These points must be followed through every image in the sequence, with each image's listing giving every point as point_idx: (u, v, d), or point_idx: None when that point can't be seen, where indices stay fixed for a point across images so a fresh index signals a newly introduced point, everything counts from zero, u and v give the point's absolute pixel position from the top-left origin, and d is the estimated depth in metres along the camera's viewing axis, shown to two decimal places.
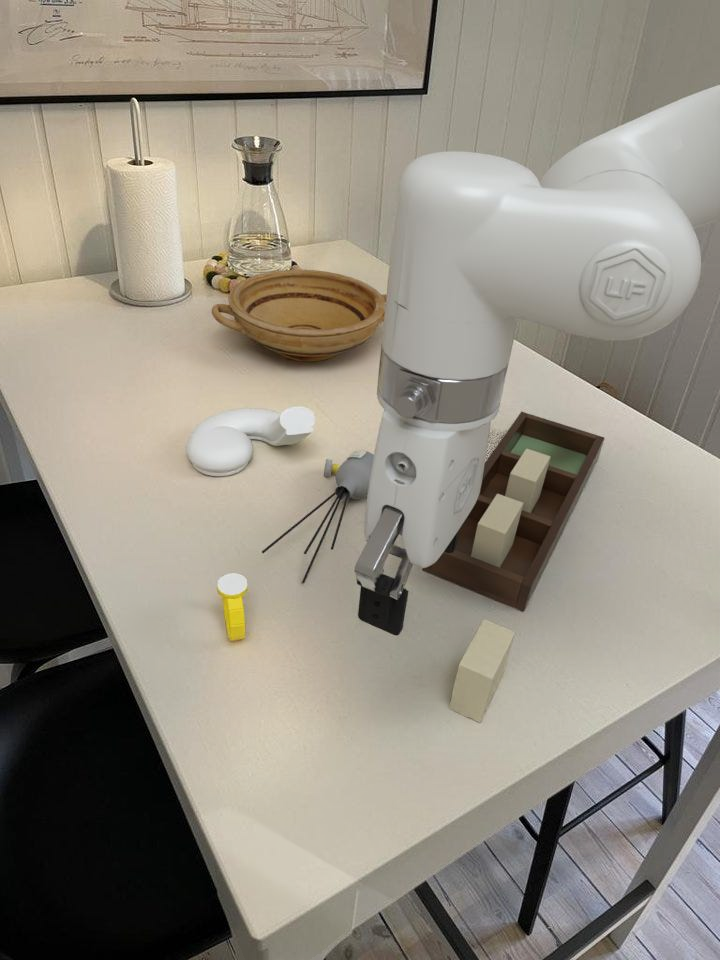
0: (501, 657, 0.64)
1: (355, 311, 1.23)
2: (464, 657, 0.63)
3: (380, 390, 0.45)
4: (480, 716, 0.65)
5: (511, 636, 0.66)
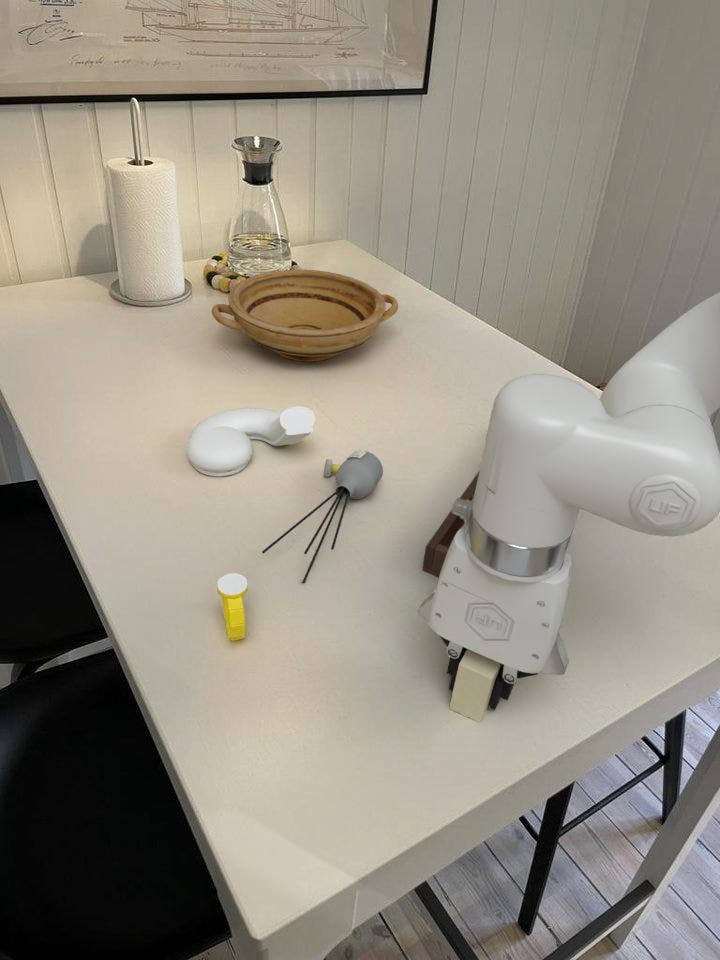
0: None
1: (355, 311, 1.23)
2: (464, 657, 0.63)
3: None
4: (480, 716, 0.65)
5: None
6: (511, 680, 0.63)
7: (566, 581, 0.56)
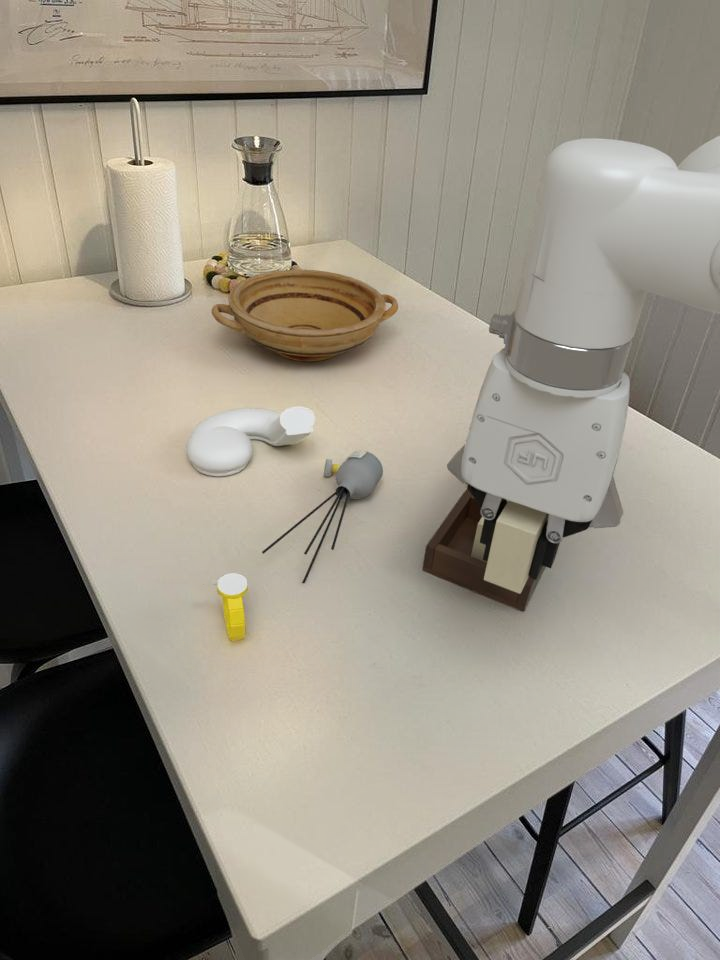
0: (544, 514, 0.55)
1: (355, 311, 1.23)
2: (502, 514, 0.55)
3: None
4: (520, 584, 0.57)
5: None
6: (556, 539, 0.55)
7: (626, 399, 0.47)
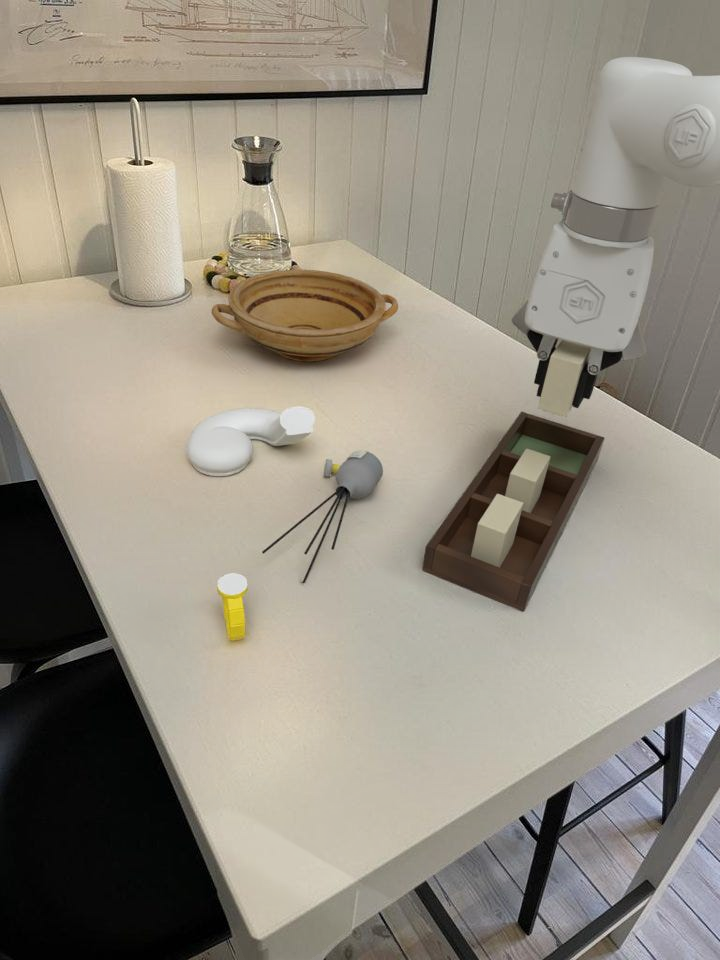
0: (586, 353, 0.74)
1: (355, 311, 1.23)
2: (554, 352, 0.73)
3: None
4: (566, 409, 0.75)
5: None
6: (595, 371, 0.73)
7: (652, 251, 0.66)
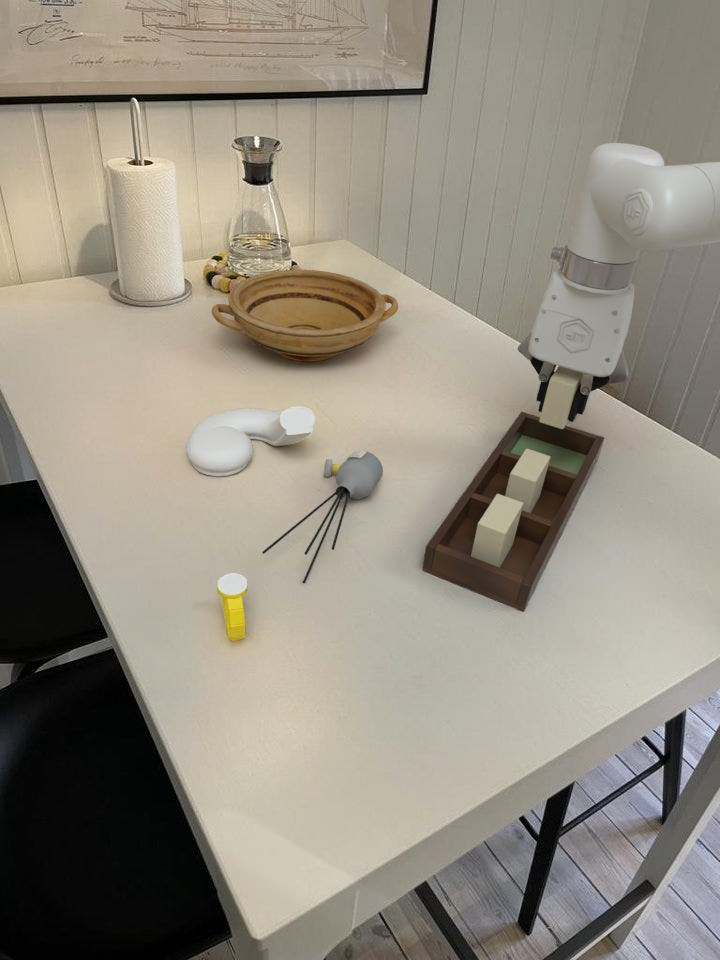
0: (579, 377, 0.89)
1: (355, 311, 1.23)
2: (553, 375, 0.88)
3: None
4: (563, 422, 0.90)
5: None
6: (586, 392, 0.88)
7: (632, 296, 0.81)
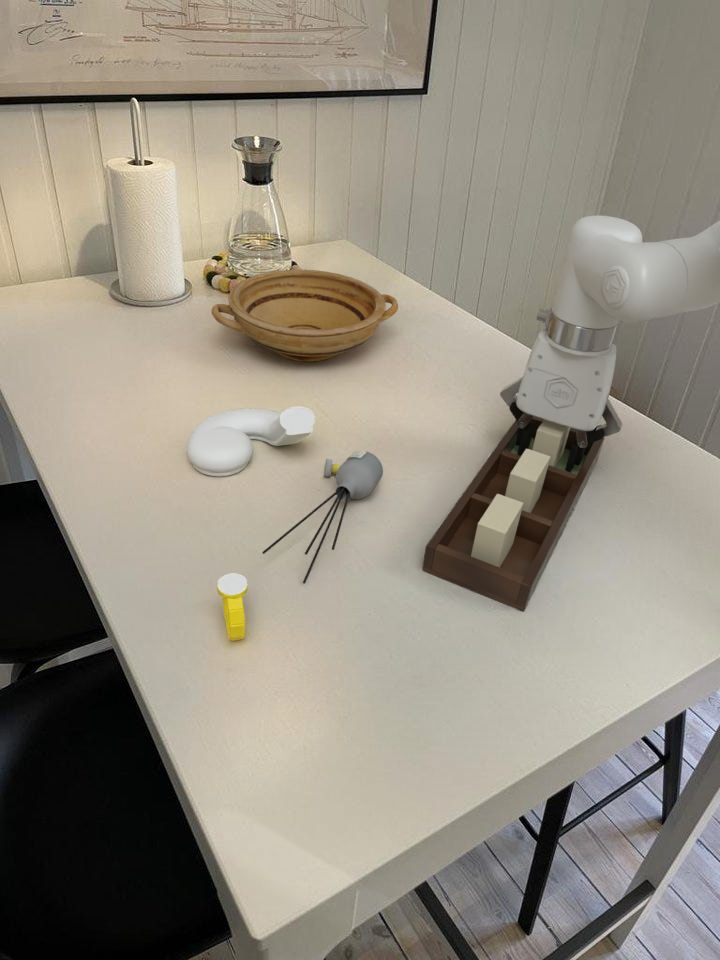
0: (565, 427, 0.93)
1: (355, 311, 1.23)
2: (540, 426, 0.93)
3: None
4: None
5: None
6: (583, 445, 0.92)
7: (613, 358, 0.85)
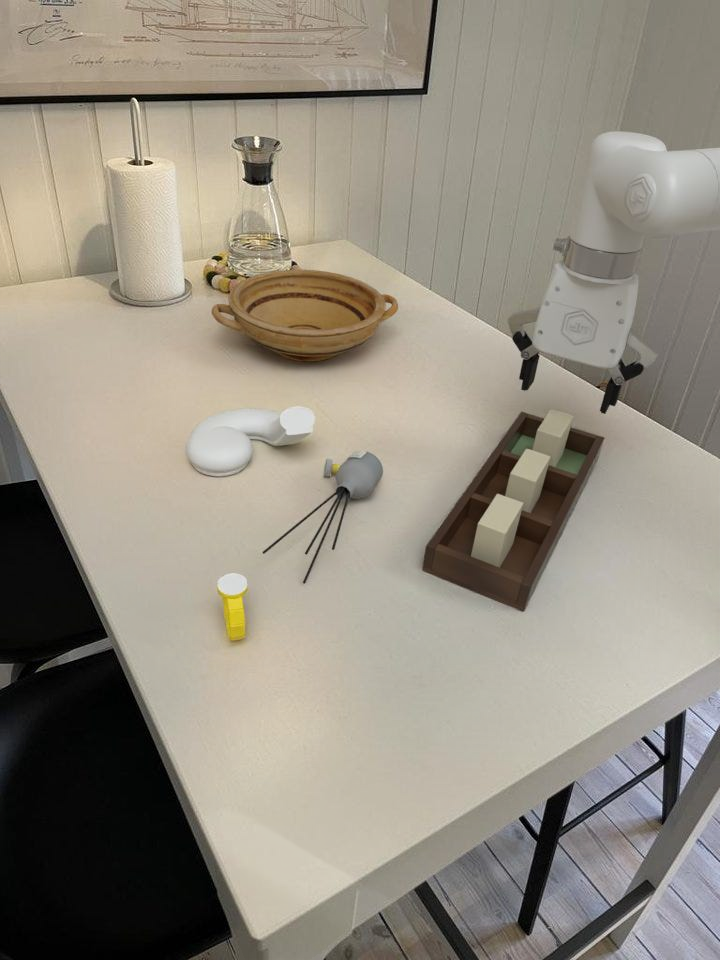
0: (565, 427, 0.93)
1: (355, 311, 1.23)
2: (540, 426, 0.93)
3: None
4: None
5: (571, 417, 0.95)
6: (620, 382, 0.86)
7: (636, 286, 0.80)
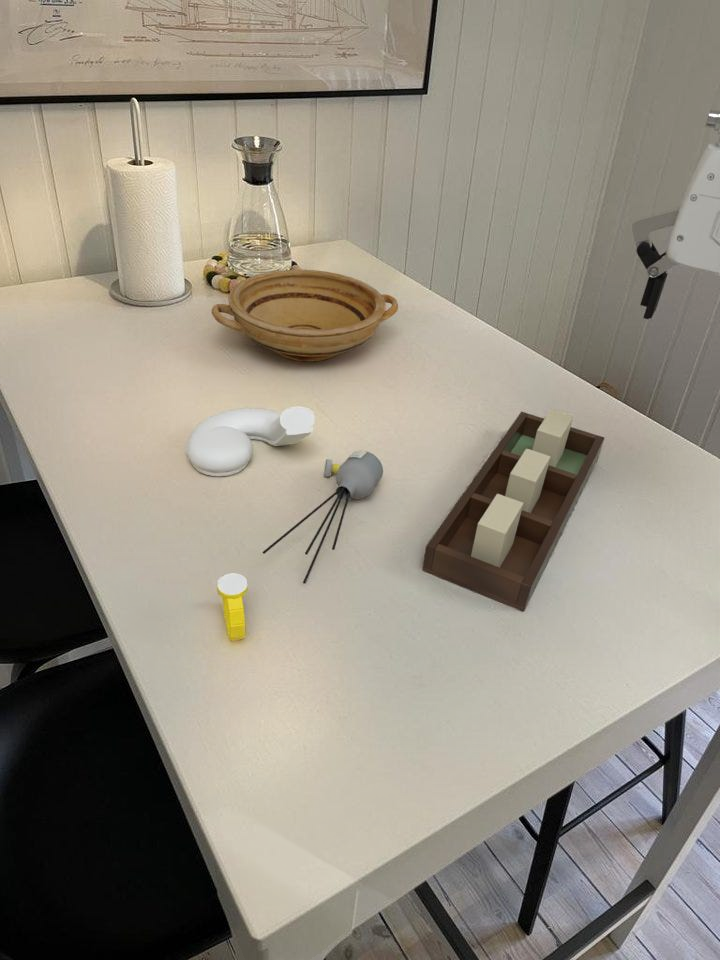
0: (565, 427, 0.93)
1: (355, 311, 1.23)
2: (540, 426, 0.93)
3: None
4: None
5: (571, 417, 0.95)
6: None
7: None
